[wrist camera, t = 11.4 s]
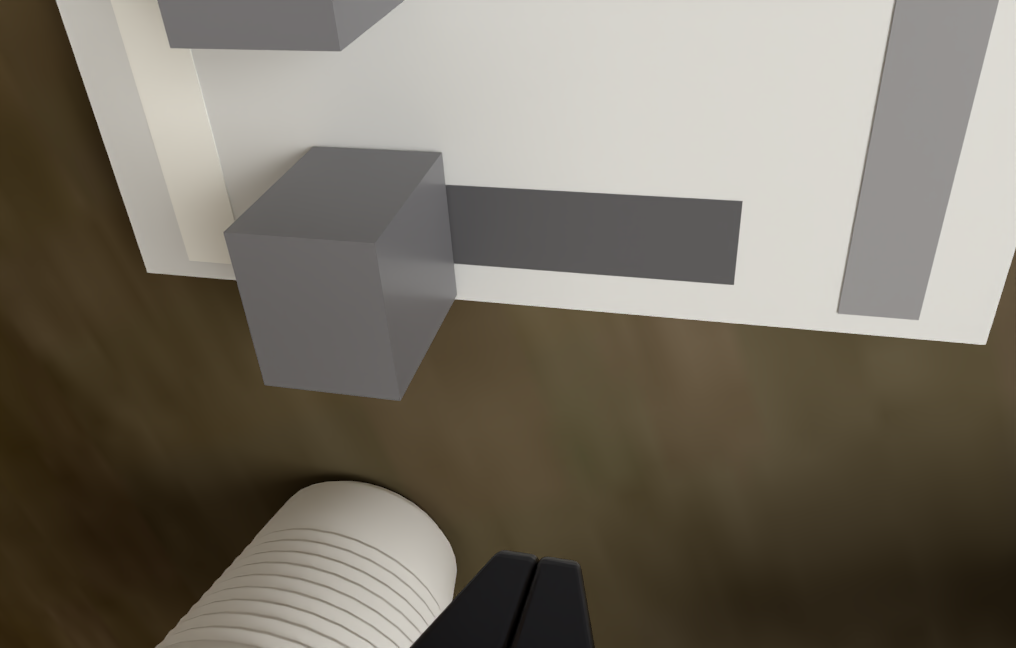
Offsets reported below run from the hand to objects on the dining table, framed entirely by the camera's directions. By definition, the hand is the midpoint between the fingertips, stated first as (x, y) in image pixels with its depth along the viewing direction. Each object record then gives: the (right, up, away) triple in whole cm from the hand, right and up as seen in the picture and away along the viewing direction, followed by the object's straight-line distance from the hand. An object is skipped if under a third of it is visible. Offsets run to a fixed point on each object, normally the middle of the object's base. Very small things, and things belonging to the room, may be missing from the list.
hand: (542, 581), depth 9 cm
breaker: (-3, +5, +11) cm, 13 cm away
